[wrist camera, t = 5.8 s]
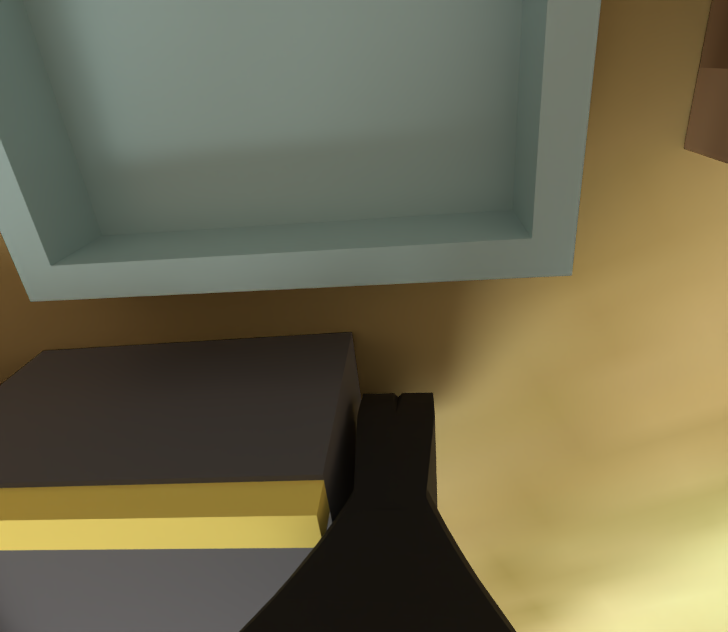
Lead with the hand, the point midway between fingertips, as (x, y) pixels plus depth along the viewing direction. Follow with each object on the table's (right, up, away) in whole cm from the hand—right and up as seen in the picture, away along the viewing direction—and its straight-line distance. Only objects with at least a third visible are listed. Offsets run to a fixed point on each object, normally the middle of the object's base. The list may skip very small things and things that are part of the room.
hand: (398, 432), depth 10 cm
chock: (-4, 0, +2) cm, 4 cm away
